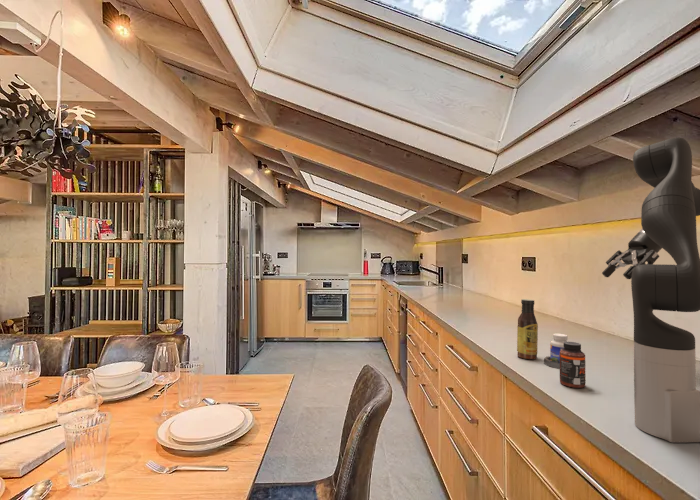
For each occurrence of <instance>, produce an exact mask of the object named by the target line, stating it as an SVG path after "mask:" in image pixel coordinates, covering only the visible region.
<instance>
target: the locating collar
mask: <svg viewBox="0 0 700 500" xmlns="http://www.w3.org/2000/svg"><path fill="white" fill-rule="evenodd" d="M543 364H544V365H546V366H548V367H551V368H555V369H559V370H560V363H558V362H553V361H550V356H549V355H548V356H546V357H545V356H544V358H543Z"/></svg>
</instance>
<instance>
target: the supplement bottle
mask: <svg viewBox="0 0 700 500" xmlns="http://www.w3.org/2000/svg"><path fill="white" fill-rule="evenodd" d="M586 382H587V381H586V353H584V352H583V351H582V344H581V343H580V342H576V341H575V342H574V341H567V342H564V349H562V350H561V351H560V369H559V383H560V384H561V385H563V386H566V387H568V388H574V389H583V388H585V387H586Z"/></svg>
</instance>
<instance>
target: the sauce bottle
mask: <svg viewBox="0 0 700 500" xmlns="http://www.w3.org/2000/svg"><path fill="white" fill-rule="evenodd" d="M520 302H521V314H519V316H518V318H517V327H516V328H517V331H516V332H517V333H516V334H517V337H516V338H517V340H516V342H517V343H516V344H517V345H516V346H517V347H516V351H517V354H516V355H517V357H518V358H520V359H524V360H535V359H537V358H538V340H539V339H538V338H539V336H538V335H539V334H538V332H539V331H538V330H539V329H538V328H539V324H538V321H537V318H536V316H535V306H534V305H535V300H534V299H529V298H528V299H527V298H526V299H521V301H520Z"/></svg>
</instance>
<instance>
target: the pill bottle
mask: <svg viewBox="0 0 700 500" xmlns="http://www.w3.org/2000/svg"><path fill="white" fill-rule="evenodd" d="M568 339H569V338H568V335H567V334H563V333H553V334H552V340H551V341H550V344H549V345H550V347H549V349H550V350H549V351H550V353H549V355H550V361H553V362H558V363H560V351H561V350H562V349H564V342H568Z"/></svg>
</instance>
